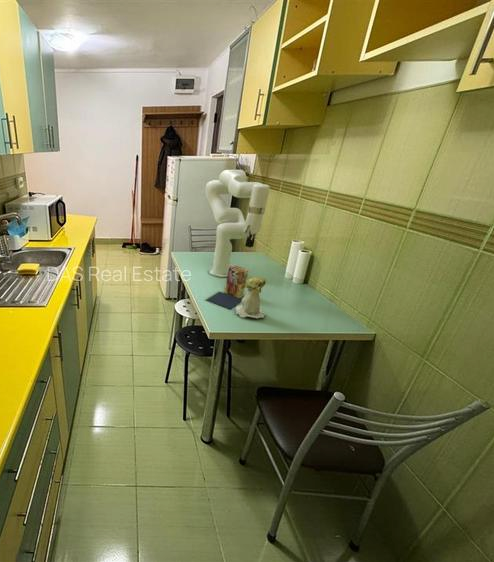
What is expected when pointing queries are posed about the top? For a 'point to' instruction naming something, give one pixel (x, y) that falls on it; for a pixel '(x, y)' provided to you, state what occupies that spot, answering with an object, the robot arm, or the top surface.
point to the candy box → (236, 281)
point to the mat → (224, 300)
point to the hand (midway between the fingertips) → (249, 246)
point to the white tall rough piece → (252, 299)
